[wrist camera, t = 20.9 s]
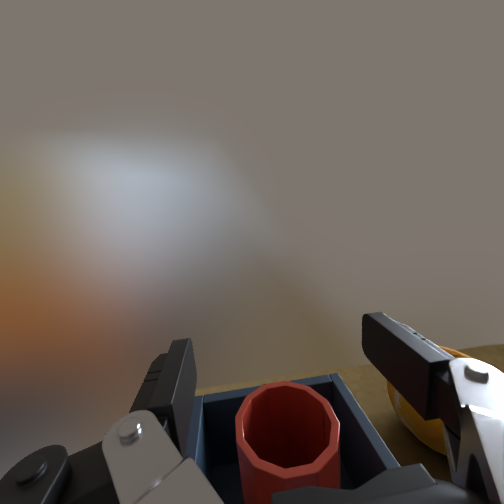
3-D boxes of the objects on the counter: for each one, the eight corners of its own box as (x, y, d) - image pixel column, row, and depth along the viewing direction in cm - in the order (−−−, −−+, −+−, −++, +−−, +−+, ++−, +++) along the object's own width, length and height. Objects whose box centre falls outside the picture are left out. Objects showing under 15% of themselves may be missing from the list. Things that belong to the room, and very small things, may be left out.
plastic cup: (318, 484, 17) (315, 375, 15) (359, 604, 12) (361, 463, 10) (246, 499, 16) (233, 388, 14) (257, 631, 11) (238, 488, 9)
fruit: (398, 444, 16) (444, 339, 17) (362, 391, 25) (393, 322, 25) (536, 526, 15) (583, 406, 15) (446, 439, 23) (478, 363, 23)
